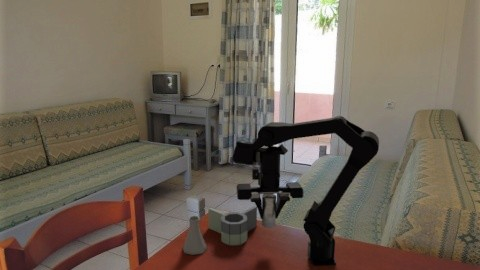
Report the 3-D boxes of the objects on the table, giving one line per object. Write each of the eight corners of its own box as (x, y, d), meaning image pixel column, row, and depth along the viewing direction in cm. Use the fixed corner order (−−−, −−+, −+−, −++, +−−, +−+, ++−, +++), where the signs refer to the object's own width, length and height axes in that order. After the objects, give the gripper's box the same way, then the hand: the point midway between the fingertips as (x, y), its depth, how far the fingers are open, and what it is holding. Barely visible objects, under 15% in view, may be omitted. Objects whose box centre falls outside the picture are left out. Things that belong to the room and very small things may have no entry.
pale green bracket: (252, 237, 111) (252, 217, 110) (235, 248, 105) (235, 226, 104) (218, 223, 121) (218, 204, 119) (201, 232, 115) (200, 212, 113)
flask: (205, 255, 102) (204, 224, 99) (180, 255, 102) (179, 223, 99) (208, 242, 109) (207, 212, 106) (185, 242, 109) (183, 212, 106)
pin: (274, 221, 106) (274, 193, 104) (276, 227, 102) (277, 198, 100) (261, 221, 106) (261, 193, 104) (262, 227, 102) (263, 198, 100)
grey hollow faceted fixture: (235, 248, 105) (235, 226, 104) (216, 239, 110) (215, 218, 109) (265, 229, 116) (265, 210, 115) (246, 222, 121) (246, 203, 120)
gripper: (295, 158, 109) (294, 205, 112) (235, 159, 107) (235, 207, 111) (305, 170, 98) (302, 221, 101) (237, 171, 96) (237, 224, 100)
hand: (268, 218), depth 104 cm, fingers closed on pin, 4 cm apart
